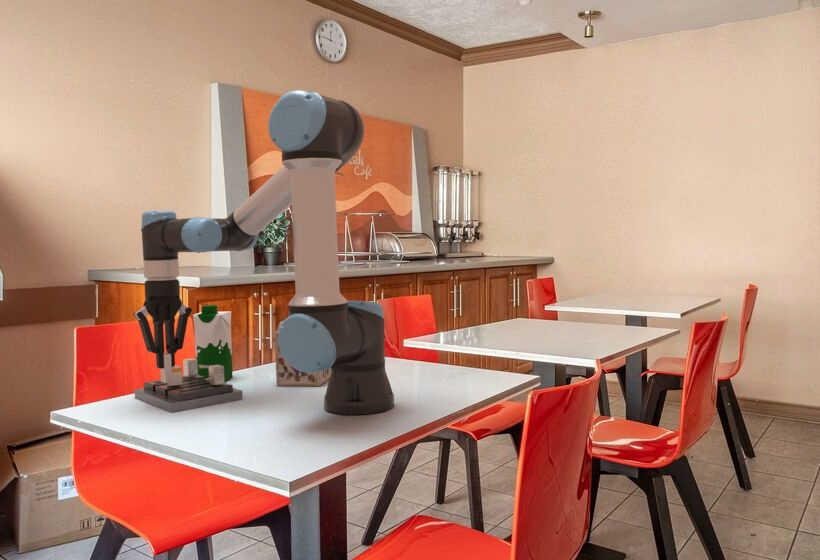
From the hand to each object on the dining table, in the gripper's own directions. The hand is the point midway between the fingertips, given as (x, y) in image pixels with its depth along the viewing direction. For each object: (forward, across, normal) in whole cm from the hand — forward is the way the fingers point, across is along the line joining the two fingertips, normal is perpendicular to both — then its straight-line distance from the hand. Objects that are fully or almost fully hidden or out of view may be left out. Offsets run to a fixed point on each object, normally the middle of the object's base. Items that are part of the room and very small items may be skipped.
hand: (166, 381), depth 160 cm
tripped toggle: (+1, -2, 0) cm, 2 cm away
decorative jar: (+5, -34, +5) cm, 35 cm away
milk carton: (+5, -20, -16) cm, 25 cm away
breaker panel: (+5, -5, 0) cm, 7 cm away
